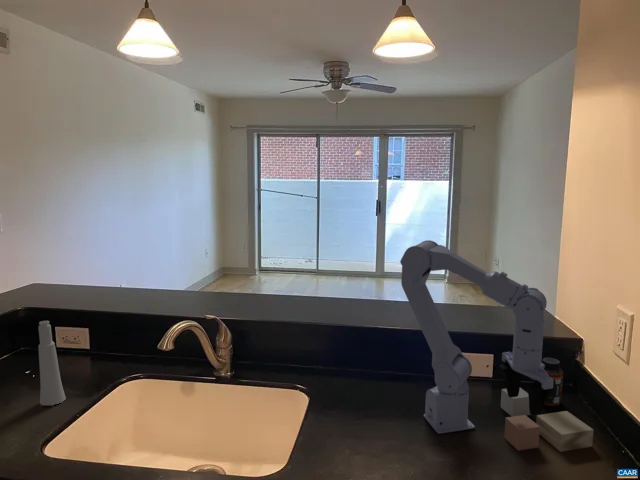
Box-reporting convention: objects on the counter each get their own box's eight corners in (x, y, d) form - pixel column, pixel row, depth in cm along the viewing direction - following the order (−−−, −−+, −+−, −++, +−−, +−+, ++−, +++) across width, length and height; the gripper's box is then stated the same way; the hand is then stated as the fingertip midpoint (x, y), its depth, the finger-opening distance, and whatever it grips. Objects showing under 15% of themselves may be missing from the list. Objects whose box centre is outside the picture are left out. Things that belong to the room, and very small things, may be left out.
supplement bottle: (564, 408, 119) (567, 366, 117) (538, 406, 120) (541, 364, 118) (557, 397, 124) (560, 356, 123) (533, 395, 126) (536, 354, 124)
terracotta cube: (518, 451, 102) (519, 429, 101) (504, 437, 107) (505, 417, 106) (538, 447, 103) (539, 426, 102) (523, 435, 108) (525, 414, 107)
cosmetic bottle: (63, 404, 123) (55, 324, 119) (37, 409, 121) (27, 327, 117) (67, 394, 128) (59, 316, 125) (42, 398, 126) (33, 319, 123)
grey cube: (512, 417, 115) (513, 398, 114) (500, 407, 120) (501, 389, 119) (530, 415, 116) (531, 396, 115) (517, 405, 121) (519, 386, 120)
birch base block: (560, 451, 101) (561, 434, 101) (535, 431, 109) (536, 415, 108) (591, 446, 103) (593, 429, 102) (565, 426, 111) (566, 410, 110)
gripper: (568, 357, 95) (563, 419, 97) (522, 332, 109) (519, 387, 111) (537, 361, 93) (533, 424, 96) (495, 335, 107) (492, 390, 110)
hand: (523, 404), depth 103 cm, fingers open, 7 cm apart
